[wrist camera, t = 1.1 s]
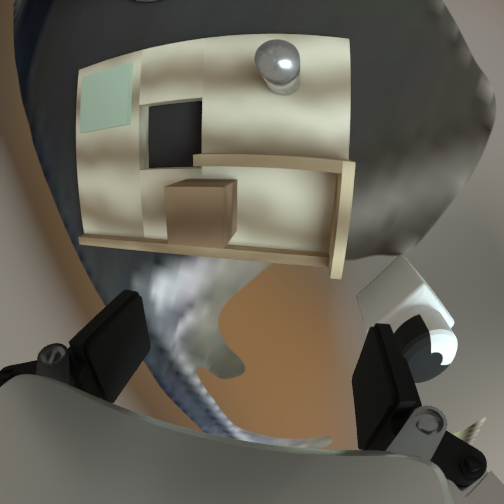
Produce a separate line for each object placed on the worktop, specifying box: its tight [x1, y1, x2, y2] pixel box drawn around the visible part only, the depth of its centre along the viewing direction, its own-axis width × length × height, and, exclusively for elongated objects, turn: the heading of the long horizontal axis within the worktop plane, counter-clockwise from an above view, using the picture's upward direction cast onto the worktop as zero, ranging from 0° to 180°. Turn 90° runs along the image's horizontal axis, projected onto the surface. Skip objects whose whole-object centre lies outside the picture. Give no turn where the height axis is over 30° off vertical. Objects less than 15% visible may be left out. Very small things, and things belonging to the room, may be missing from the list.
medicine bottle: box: [357, 255, 457, 383], centre depth 24 cm, size 7×7×12 cm
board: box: [76, 34, 355, 279], centre depth 24 cm, size 22×30×6 cm
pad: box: [80, 63, 134, 133], centre depth 24 cm, size 7×7×1 cm
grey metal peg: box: [254, 39, 301, 96], centre depth 18 cm, size 3×3×7 cm
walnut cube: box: [164, 179, 237, 249], centre depth 25 cm, size 5×5×5 cm
